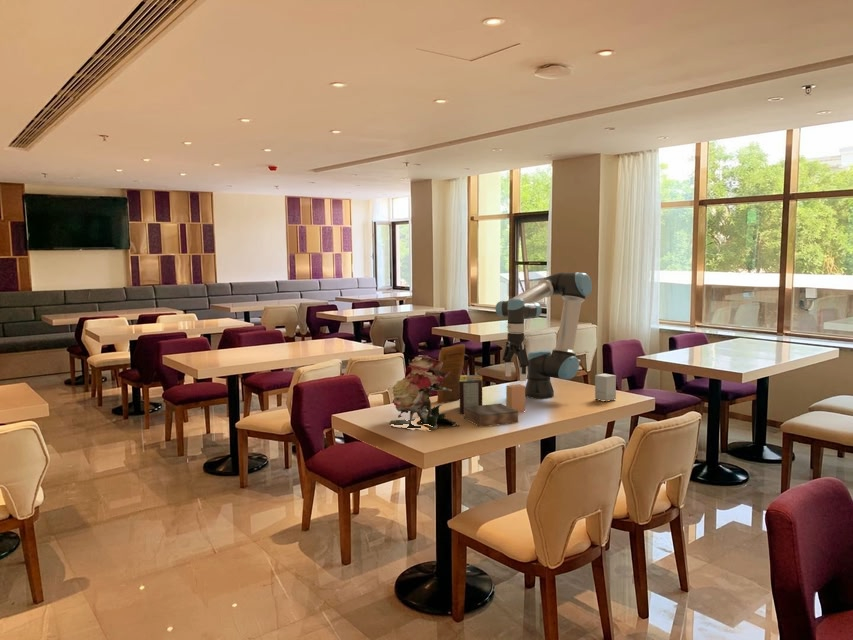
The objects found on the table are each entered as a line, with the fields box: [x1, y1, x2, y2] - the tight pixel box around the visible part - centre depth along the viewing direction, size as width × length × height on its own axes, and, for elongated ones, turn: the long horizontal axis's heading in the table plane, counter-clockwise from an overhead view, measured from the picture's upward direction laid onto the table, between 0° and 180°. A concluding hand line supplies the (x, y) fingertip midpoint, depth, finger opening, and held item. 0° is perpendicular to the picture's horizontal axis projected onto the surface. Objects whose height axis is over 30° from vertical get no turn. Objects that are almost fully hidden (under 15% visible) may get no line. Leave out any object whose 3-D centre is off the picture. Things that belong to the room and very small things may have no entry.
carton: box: [505, 384, 526, 413], centre depth 290 cm, size 7×5×12 cm
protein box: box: [459, 374, 483, 415], centre depth 293 cm, size 10×15×16 cm
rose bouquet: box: [389, 354, 461, 431], centre depth 268 cm, size 26×29×30 cm
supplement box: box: [594, 373, 617, 401], centre depth 312 cm, size 7×7×13 cm
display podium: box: [463, 403, 519, 427], centre depth 275 cm, size 18×16×5 cm
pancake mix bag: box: [436, 343, 466, 403], centre depth 315 cm, size 7×19×28 cm, turn 129°
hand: (515, 378), depth 289 cm, fingers open, 13 cm apart
